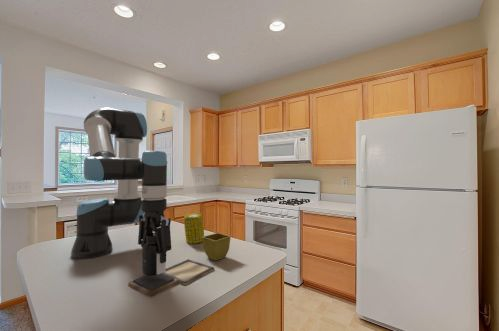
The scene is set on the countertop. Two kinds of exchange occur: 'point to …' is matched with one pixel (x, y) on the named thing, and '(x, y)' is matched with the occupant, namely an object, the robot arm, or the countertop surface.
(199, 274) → the board
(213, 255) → the flower pot
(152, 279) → the pad
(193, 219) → the food
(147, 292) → the ink tray
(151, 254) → the supplement bottle
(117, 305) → the countertop surface
